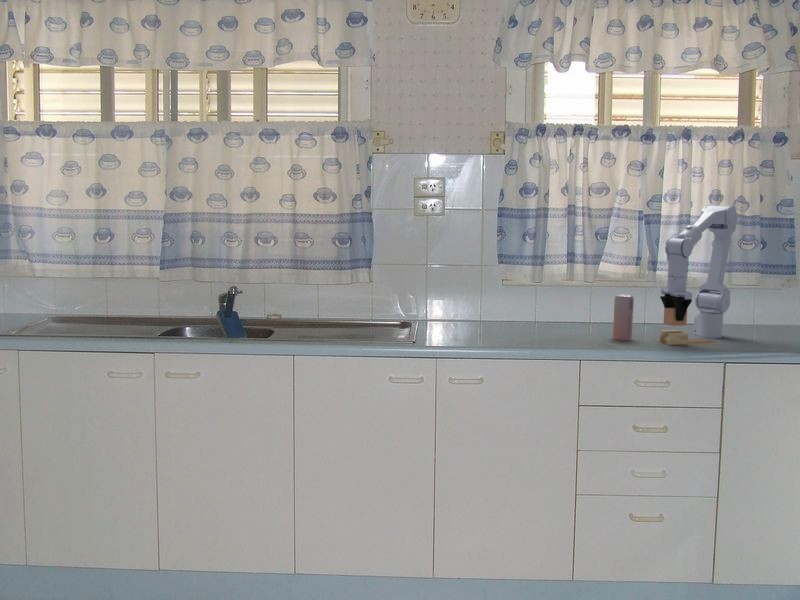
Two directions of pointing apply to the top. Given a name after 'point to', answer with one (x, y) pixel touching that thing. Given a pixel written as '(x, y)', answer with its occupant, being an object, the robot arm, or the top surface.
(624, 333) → the beverage can
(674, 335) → the birch block
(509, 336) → the top surface
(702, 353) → the top surface
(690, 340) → the base plate
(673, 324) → the terracotta block
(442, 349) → the top surface
